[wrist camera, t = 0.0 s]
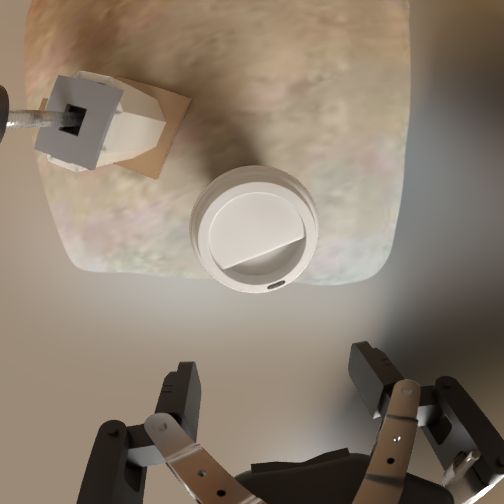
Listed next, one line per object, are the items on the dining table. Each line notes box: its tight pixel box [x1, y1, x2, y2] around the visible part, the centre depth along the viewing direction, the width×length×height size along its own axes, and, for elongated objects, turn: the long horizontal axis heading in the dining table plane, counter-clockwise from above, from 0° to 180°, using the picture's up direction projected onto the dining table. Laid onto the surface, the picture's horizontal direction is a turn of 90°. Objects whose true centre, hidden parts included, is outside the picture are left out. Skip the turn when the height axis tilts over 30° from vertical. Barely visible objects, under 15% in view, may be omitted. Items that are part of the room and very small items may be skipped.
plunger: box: [0, 85, 87, 142], centre depth 10 cm, size 5×5×14 cm
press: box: [34, 70, 192, 179], centre depth 20 cm, size 10×11×15 cm
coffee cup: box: [189, 165, 319, 293], centre depth 25 cm, size 10×10×15 cm
